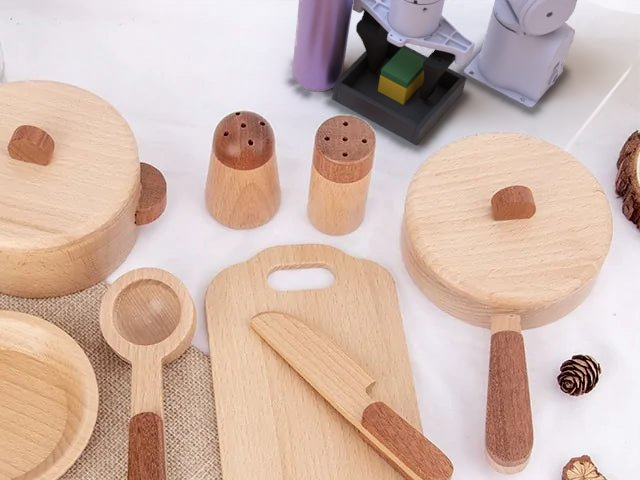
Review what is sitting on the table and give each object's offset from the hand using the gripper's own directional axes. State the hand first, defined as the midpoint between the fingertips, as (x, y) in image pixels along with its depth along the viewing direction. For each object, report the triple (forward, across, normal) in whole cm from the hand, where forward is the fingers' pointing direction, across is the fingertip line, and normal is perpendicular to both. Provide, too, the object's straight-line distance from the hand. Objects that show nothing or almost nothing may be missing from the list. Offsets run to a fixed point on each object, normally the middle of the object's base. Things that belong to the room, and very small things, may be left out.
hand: (401, 81), depth 127 cm
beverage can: (+2, -9, -4) cm, 10 cm away
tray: (+1, 0, -1) cm, 2 cm away
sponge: (+1, 0, 0) cm, 1 cm away
